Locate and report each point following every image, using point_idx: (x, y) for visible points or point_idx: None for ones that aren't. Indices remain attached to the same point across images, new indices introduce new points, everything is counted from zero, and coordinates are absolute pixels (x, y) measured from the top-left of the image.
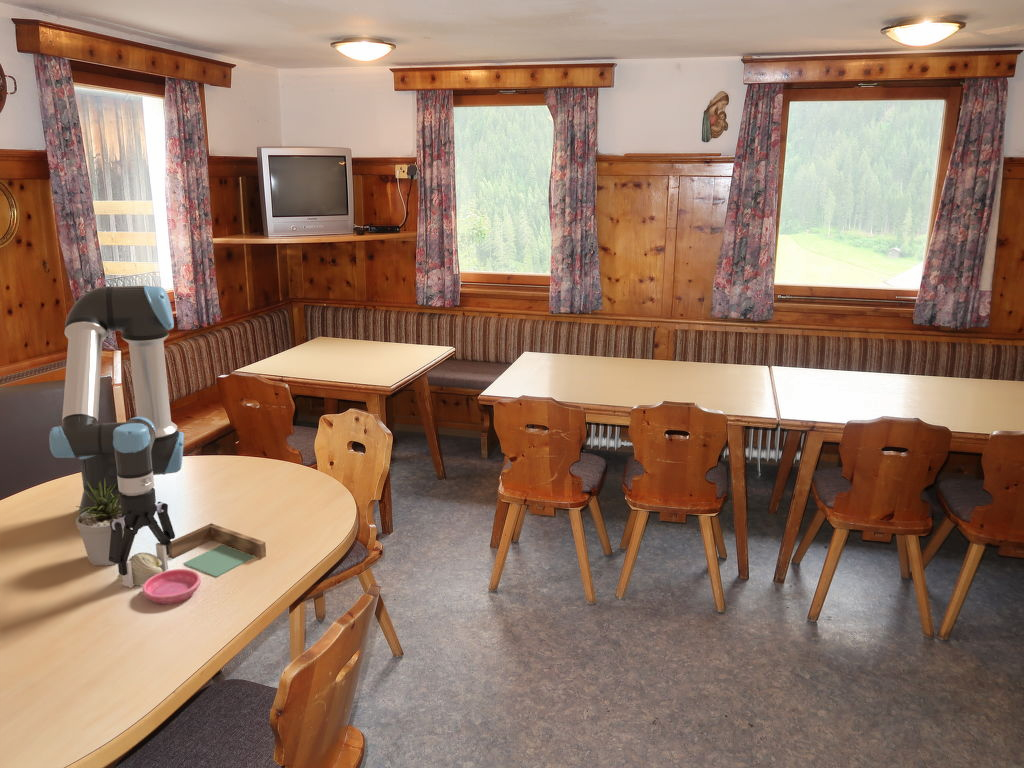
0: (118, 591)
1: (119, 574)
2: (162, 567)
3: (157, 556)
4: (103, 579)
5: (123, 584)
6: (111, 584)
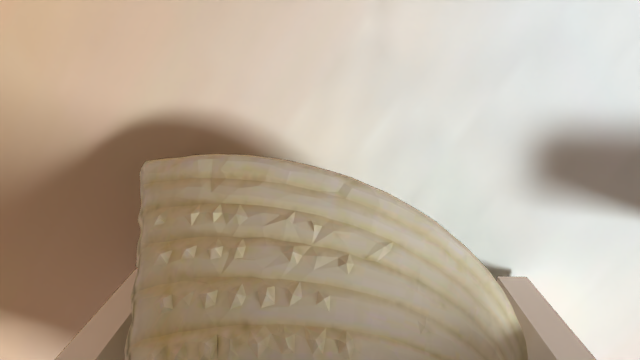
0: (64, 309)
1: (140, 198)
2: None
3: (546, 354)
4: (89, 11)
5: (136, 272)
6: (87, 162)
